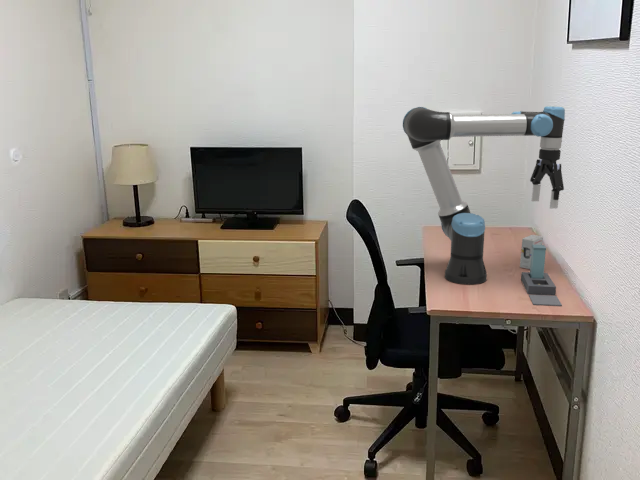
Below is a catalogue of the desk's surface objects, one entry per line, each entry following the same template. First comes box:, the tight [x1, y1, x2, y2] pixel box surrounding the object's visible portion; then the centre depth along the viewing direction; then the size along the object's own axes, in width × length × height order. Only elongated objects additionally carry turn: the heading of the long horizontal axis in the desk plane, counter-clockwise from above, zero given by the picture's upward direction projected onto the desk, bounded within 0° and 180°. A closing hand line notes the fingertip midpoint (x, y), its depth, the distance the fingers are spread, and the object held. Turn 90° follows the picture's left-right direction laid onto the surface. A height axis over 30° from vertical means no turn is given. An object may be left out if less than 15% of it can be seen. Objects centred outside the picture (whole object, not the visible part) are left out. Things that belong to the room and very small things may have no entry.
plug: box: [529, 244, 547, 279], centre depth 226 cm, size 4×4×14 cm
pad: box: [528, 294, 563, 307], centre depth 211 cm, size 9×9×1 cm
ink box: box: [519, 234, 544, 270], centre depth 248 cm, size 9×5×12 cm, turn 137°
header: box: [520, 271, 557, 296], centre depth 225 cm, size 16×9×3 cm, turn 171°
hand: (544, 204), depth 242 cm, fingers open, 13 cm apart
